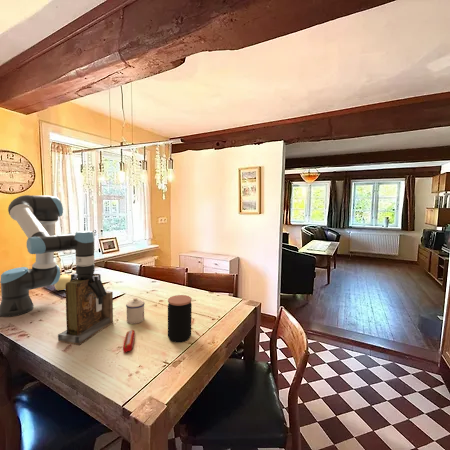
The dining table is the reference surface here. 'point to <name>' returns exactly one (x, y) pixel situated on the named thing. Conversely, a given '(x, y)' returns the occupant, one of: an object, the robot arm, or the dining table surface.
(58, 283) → the sculpture
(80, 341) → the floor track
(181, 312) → the coffee jar
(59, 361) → the dining table surface
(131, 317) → the teacup with lid
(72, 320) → the book
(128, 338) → the candy bar
